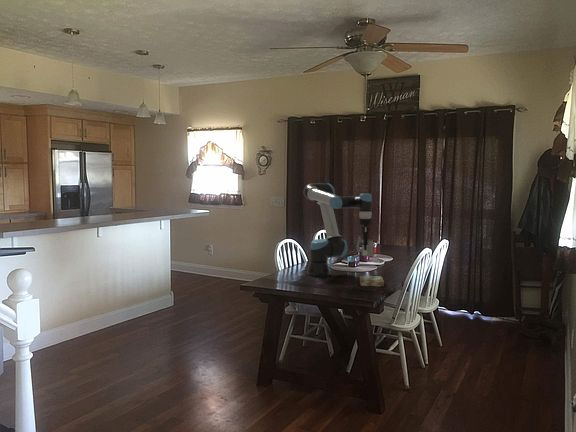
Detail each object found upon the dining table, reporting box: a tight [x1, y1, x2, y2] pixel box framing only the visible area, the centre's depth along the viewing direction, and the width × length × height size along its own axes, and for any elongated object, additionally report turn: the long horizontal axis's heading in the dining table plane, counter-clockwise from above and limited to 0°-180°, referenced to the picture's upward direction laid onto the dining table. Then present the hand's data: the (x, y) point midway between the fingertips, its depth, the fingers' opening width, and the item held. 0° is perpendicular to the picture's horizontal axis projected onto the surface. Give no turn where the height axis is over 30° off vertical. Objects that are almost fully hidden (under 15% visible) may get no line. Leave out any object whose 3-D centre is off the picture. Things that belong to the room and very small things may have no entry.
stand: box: [359, 275, 385, 288], centre depth 301 cm, size 14×14×3 cm
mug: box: [356, 235, 375, 257], centre depth 302 cm, size 8×12×12 cm, turn 53°
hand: (364, 254), depth 301 cm, fingers closed on mug, 8 cm apart
